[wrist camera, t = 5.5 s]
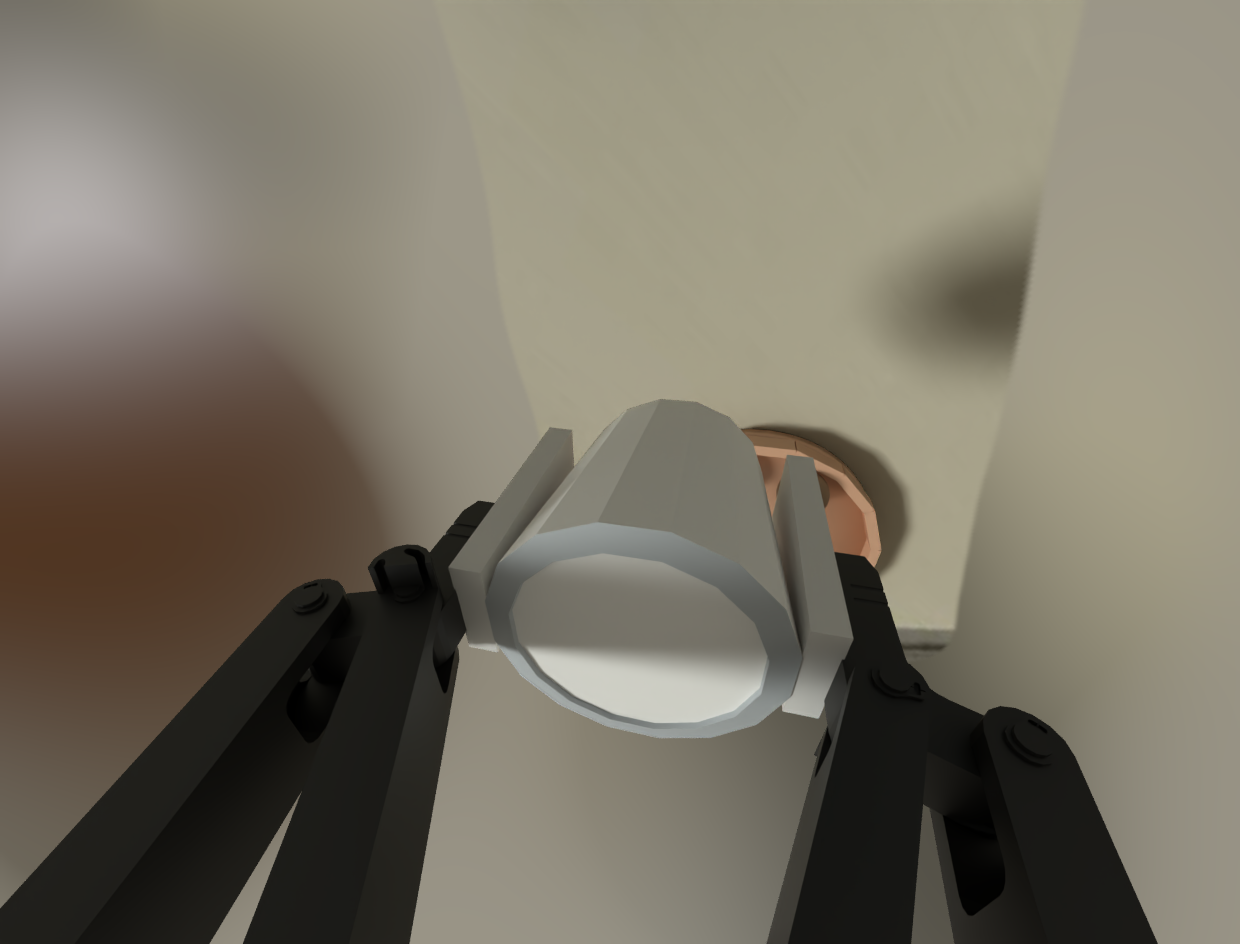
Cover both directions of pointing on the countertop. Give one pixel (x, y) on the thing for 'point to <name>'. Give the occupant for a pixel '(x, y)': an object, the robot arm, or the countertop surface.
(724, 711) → the white cup
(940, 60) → the countertop surface
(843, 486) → the tray
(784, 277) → the countertop surface
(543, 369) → the countertop surface
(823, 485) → the bead
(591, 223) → the countertop surface
